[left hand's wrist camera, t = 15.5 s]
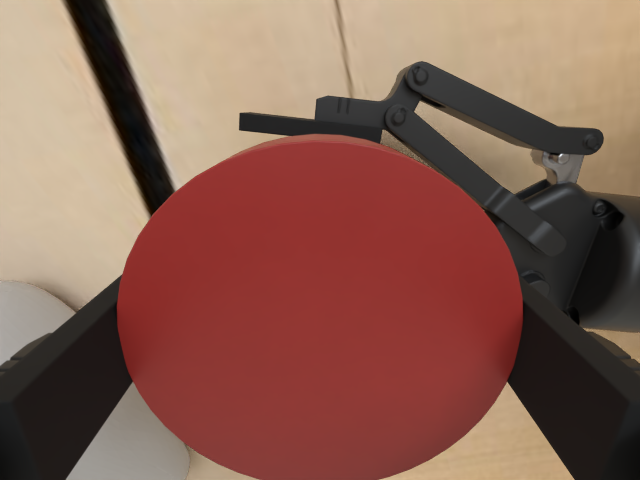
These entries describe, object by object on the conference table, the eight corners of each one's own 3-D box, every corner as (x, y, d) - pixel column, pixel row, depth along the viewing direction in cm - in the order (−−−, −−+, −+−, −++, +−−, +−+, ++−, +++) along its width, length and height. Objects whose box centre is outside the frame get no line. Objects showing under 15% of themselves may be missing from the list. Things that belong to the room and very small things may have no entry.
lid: (511, 128, 10) (562, 133, 8) (466, 427, 14) (492, 484, 12) (119, 138, 10) (67, 147, 8) (181, 433, 14) (157, 491, 12)
